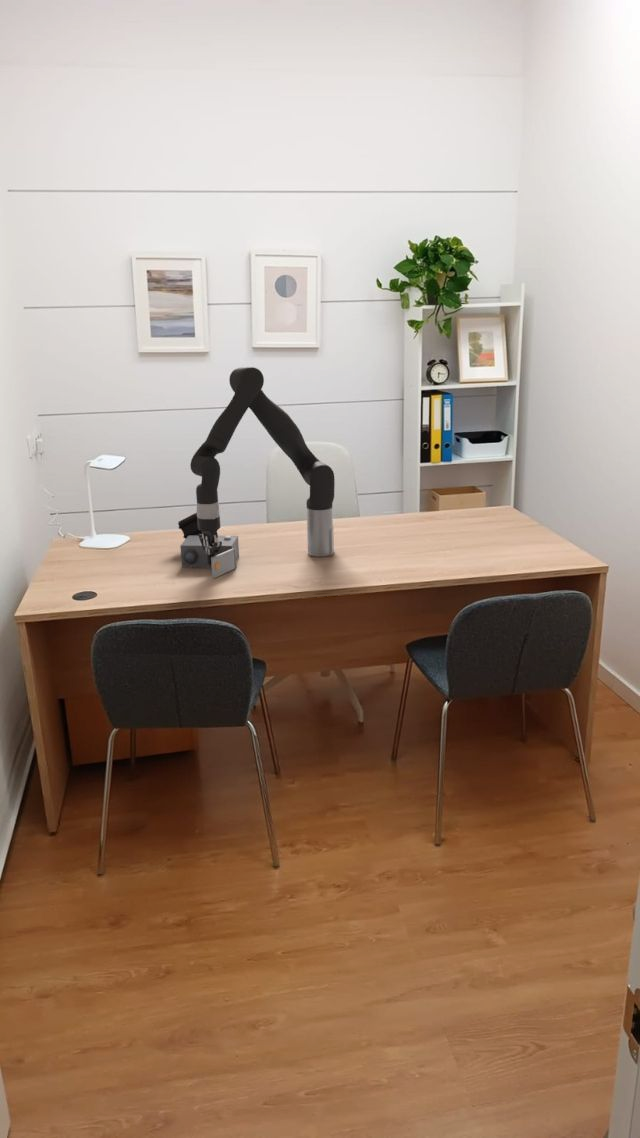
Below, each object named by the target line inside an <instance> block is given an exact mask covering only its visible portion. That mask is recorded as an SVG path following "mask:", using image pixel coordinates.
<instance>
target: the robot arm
mask: <svg viewBox="0 0 640 1138" xmlns="http://www.w3.org/2000/svg"><path fill="white" fill-rule="evenodd" d="M228 379H229V386H230V387H231V391H233V393H234V394H233V396H232V398H231V400H230V401H229V403H228V405H227V406H226V408H225V409H224V410H223V411H222V412H221V414H220V415H219V416H218V418H217V419H216V421H215V422H214V424H213V425H212V427H211V429H210V431H209V433H208V435H207V437H206V439H205V441H204V442H203V443H202V444H201V445H200V446H199V448H198V449H197V450H196V451H195V452H194V454H193V456H192V458H191V460H190V465H189V466H190V470H191V473H193V474H194V475H196V476H198V477H201V483H199V484H197V485H196V488H195V490H196V491H195V494H196V495H195V496H196V513H197V522H198V529H199V530H201V531H202V534H199V539H200V542H201V544H202V547H203V550H204V551H205V550H206V553H207V559H208V564H209V565H212V564H211V557H214V556H215V554H216V553H219V550H220V548H221V545H222V542H221V541H218V536H219V534H218V530H219V529H220V528H221V514H220V513H221V511H220V503H219V496H218V495H219V494H218V487H219V481H220V479H221V478H220V477H221V465H220V462H219V461H218V460H217V458H216V456H217V455H218V454H223V453H224V452H225V451H226V449H227V448H228V445H229V443H230V441H231V439H232V438H233V436H234V434H235V431H236V430H237V427H238V425H239V424H240V422H241V420H242V418H243V417H244V415H246V413H247V411H248V409H250V410H251V412H252V413H253V414H254V415H255V417H256V418H257V420H258V421H259V422H260V424H261V425H262V426H263V428H264V429H265V430H266V432H267V433H268V435H269V436H270V437H271V438H272V440H273V441H274V442H275V444H276V445H277V446H278V447H279V448H280V449H281V451H283V453H284V454H285V455H286V456H287V457H288V458H289V459H290V461H292V463H293V464H294V466H295V468H296V469H297V471H298V472H299V473H300V475H301V478H302V479H303V480H304V482H305V483H306V484H307V485H308V486H309V496H308V498H307V499H306V531H307V532H306V533H307V554H308V555H309V556H312V557H317V558H319V557H320V558H322V557H324V558H325V557H330V556H333V554H334V551H335V546H334V545H335V542H334V541H335V539H334V537H335V536H334V535H335V534H334V522H333V517H334V516H333V512H334V511H333V502H334V499H335V483H336V481H335V472H334V471H333V469H332V467H330V466H329V465H328V464H326V463H324V462H321V460H320V459H318V458H317V457H316V456H315V454H314V453H313V452H312V451H311V450H310V449H309V446H308V445H307V444H306V441H305V439H304V437H303V435H302V432H301V430H300V428H299V427H298V425H297V424H296V422H294V420H293V419H292V418H291V416H290V415H289V414H288V413H287V412H286V411H285V410H284V409H282V408H281V407H280V406H279V405H277V404H276V403H275V402H274V401H273V400H271V399H270V398H269V397H268V396H267V395H266V394H265V393H264V391H263V390H262V389H263V386H264V383H265V382H264V381H265V380H264V379H265V378H264V375H263V373H262V371H261V370H260V368H258V367H254V366H244V367H243V366H242V367H238V368H235V369H233V370H232V371H231V373H230V375H229V378H228Z"/></svg>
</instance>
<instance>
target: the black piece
mask: <svg viewBox="0 0 640 1138" xmlns="http://www.w3.org/2000/svg"><path fill="white" fill-rule="evenodd" d="M177 524H178V529H179V530H181V532H182V533H183V536H182V537H183V539H184V540H185V539H186V538H187V537H188V536H189V535H196V536H199V534H202V531H201V530H199V529H198V522H197V512H195V513H193V514H191V515H189V516H187V517H185V518H184V519H181V520H179V521H178V523H177Z"/></svg>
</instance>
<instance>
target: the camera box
mask: <svg viewBox="0 0 640 1138" xmlns="http://www.w3.org/2000/svg"><path fill="white" fill-rule="evenodd" d="M218 541H221V542H222V545H221V548H220V550H219V553H216V554H215V556H216V555H218V554H221V553H223V552H225V551H228V550H230V549H232V548H235V553H236V563H237V562H238V560H239V559H240V548H239V546H240V545H239V535H218ZM180 555H181V556H180V559H181V560H180V561H181V568H199V569H200V568H203V569H204V568H208V569H209V568H211V569H212V565H209V564H208V559H207V553H206V550H205V551H204V550H203V547H202V544H201V542H200V539H199V536H196V535H189V536H188V537H187V538H186V539H185V538H184V540H183V542H182V543H181V544H180Z"/></svg>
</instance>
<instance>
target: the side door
mask: <svg viewBox="0 0 640 1138" xmlns="http://www.w3.org/2000/svg"><path fill="white" fill-rule="evenodd" d="M211 564H212V568H211V575H212V576H211V577H212V578H213V579H216V578H218V577H220V576H223V575H225V574H226V573H228V572H230V571H233V570H234V569H237V562H236V553H235V548H232V549H230V550H228V551H225V552H223V553H221V554H218V555H216V556H214V557H211Z"/></svg>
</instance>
